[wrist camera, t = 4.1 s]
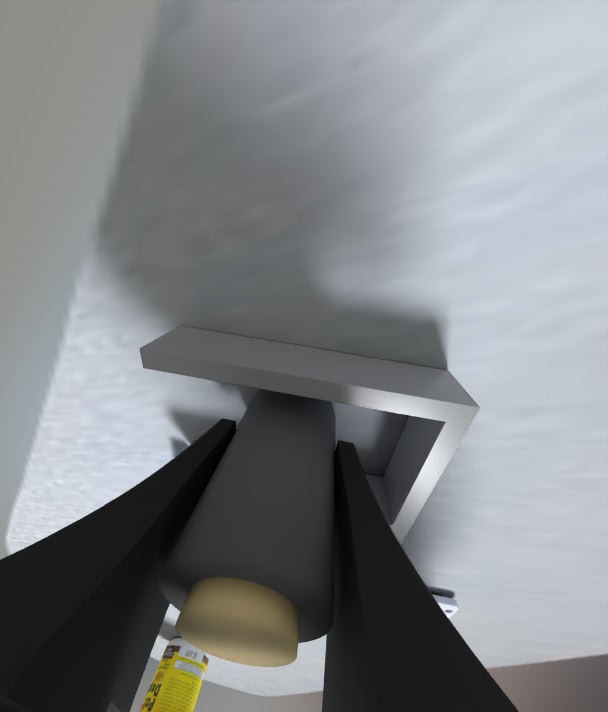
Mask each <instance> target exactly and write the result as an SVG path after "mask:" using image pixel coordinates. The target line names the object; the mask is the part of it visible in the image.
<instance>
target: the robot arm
mask: <svg viewBox="0 0 608 712" xmlns="http://www.w3.org/2000/svg"><path fill="white" fill-rule="evenodd" d="M235 432H236V421H232V420H226V419H221V420H220V421H219V422H217V423H216V424H215V425H214V426H213V427H212V428H210V429H209V430H208V431H207V432H206V433H205V434H204V435H202V436H201V437H200V438H199V439H198V440H196V441H195V442H194V443H193V444H192V445H190V446H189V447H188V448H187V449H185V450H184V451H183V452H182V453H180V454H179V455H178V456H177V457H175V458H174V459H173V460H171V461H170V462H169V463H167V464H166V465H165V466H163V467H162V468H160V469H159V470H158V471H156V472H155V473H154V474H152V475H151V476H149V477H148V478H146V479H145V480H144V481H142V482H141V483H139V484H138V485H136V486H135V487H133V488H131V489H130V490H128V491H127V492H125V493H124V494H122V495H120V496H119V497H117V498H116V499H114V500H112V501H111V502H109V503H107V504H106V505H104V506H102V507H101V508H99V509H97V510H96V511H94V512H92V513H90V514H89V515H87V516H85V517H83V518H82V519H80V520H78V521H76V522H74V523H72V524H70V525H68V526H67V527H65V528H63V529H61V530H59V531H57V532H55V533H53V534H52V535H50V536H48V537H46V538H44V539H42V540H40V541H38V542H36V543H34V544H32V545H30V546H28V547H26V548H24V549H22V550H20V551H18V552H16V553H14V554H11V555H9V556H7V557H5V558H3V559H1V560H0V712H130V709H131V706H132V703H133V700H134V698H135V695H136V692H137V689H138V687H139V684H140V681H141V678H142V675H143V673H144V670H145V667H146V665H147V662H148V659H149V656H150V654H151V651H152V648H153V646H154V643H155V641H156V638H157V635H158V633H159V630H160V627H161V625H162V622H163V620H164V617H165V614H166V612H167V609H168V607H169V604H170V602H169V601H168V600H167V599H166V598H165V596H164V595H163V593H162V591H161V589H160V586H159V576H160V574H161V572H162V570H163V568H164V566H165V564H166V563H167V561H168V559H169V557H170V555H171V553H172V551H173V549H174V547H175V545H176V544H177V542H178V540H179V538H180V536H181V534H182V532H183V530H184V528H185V526H186V525H187V523H188V521H189V519H190V517H191V515H192V513H193V511H194V509H195V507H196V506H197V504H198V502H199V500H200V498H201V496H202V494H203V492H204V490H205V488H206V487H207V485H208V483H209V481H210V479H211V477H212V475H213V473H214V471H215V470H216V468H217V466H218V464H219V462H220V460H221V458H222V456H223V454H224V452H225V451H226V449H227V447H228V445H229V443H230V441H231V439H232V437H233V435H234V433H235ZM458 608H459V607H458V604H457V601H456V600H454V599H451V598H447V597H442V596H438V595H433V594H431V592H430V591H429V589H428V588H427V586H426V585H425V583H424V582H423V580H422V579H421V577H420V576H419V574H418V573H417V571H416V570H415V568H414V566H413V565H412V563H411V561H410V560H409V558H408V557H407V555H406V553H405V552H404V550H403V548H402V547H401V545H400V543H399V541H398V540H397V538H396V536H395V534H394V533H393V531H392V529H391V527H390V525H389V524H388V522H387V520H386V518H385V516H384V514H383V512H382V510H381V508H380V506H379V504H378V502H377V500H376V498H375V496H374V493H373V491H372V489H371V487H370V485H369V482H368V480H367V478H366V475H365V473H364V471H363V468H362V466H361V463H360V460H359V458H358V455H357V452H356V449H355V446H354V444H353V443H349V442H344V441H338V443H337V447H336V451H335V548H334V624H333V627H332V628H331V630H330V631H329V632H328V633H327V639H326V657H325V673H324V689H323V704H322V712H518V710H517V709H516V707H515V706H514V705H513V704H512V702H511V701H510V700H509V699H508V697H507V696H506V695H505V693H504V692H503V691H502V689H501V688H500V687H499V686H498V684H497V683H496V682H495V680H494V679H493V678H492V677H491V676H490V674H489V673H488V672H487V670H486V669H485V667H484V666H483V665H482V663H481V662H480V661H479V660H478V658H477V657H476V656H475V654H474V653H473V652H472V650H471V649H470V648H469V646H468V645H467V644H466V642H465V641H464V639H463V638H462V637H461V635H460V634H459V632H458V631H457V630H456V628H455V627H454V626H453V624H452V623H451V621H450V620H449V618H450V617H451V616H452V615H453V614H454V613H455V612H456V611H457V610H458Z"/></svg>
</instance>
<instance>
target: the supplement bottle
mask: <svg viewBox="0 0 608 712" xmlns="http://www.w3.org/2000/svg"><path fill="white" fill-rule="evenodd" d="M208 660H209V654H208V653H206V652H204V651H202V650H200V649H198V648H196V647H194V646H192V645H191V644H189V643H188V642H186V641H185V640H184V639H183V638H175V639H172V640H171V641H170V642H169V643H168V645H167V647H166V649H165V652H164V654H163V656H162V659H161V661H160V664H159V666H158V668H157V671H156V673H155V675H154V678H153V680H152V683H151V685H150V687H149V690H148V692H147V695H146V697H145V699H144V702H143V704H142V707H141V709H140V711H139V712H193V709H194V706H195V703H196V700H197V697H198V693H199V690H200V687H201V683H202V680H203V677H204V674H205V670H206V667H207V664H208Z"/></svg>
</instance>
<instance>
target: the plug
mask: <svg viewBox="0 0 608 712" xmlns="http://www.w3.org/2000/svg"><path fill="white" fill-rule="evenodd" d="M334 548H335V413H334V410H333V407H332V405H331V403H330V402H329V401H326V400H321V399H315V398H309V397H304V396H298V395H293V394H287V393H281V392H276V391H270V390H265V389H261V390H259V391H258V392H257V393H256V395H255V396H254V397H253V399H252V401H251V403H250V405H249V407H248V409H247V411H246V413H245V414H244V416H243V418H242V420H241V422H240V424H239V426H238V428H237V430H236V432H235V433H234V435H233V437H232V439H231V441H230V443H229V445H228V447H227V449H226V451H225V452H224V454H223V456H222V458H221V460H220V462H219V464H218V466H217V468H216V470H215V471H214V473H213V475H212V477H211V479H210V481H209V483H208V485H207V487H206V488H205V490H204V492H203V494H202V496H201V498H200V500H199V502H198V504H197V506H196V507H195V509H194V511H193V513H192V515H191V517H190V519H189V521H188V523H187V525H186V526H185V528H184V530H183V532H182V534H181V536H180V538H179V540H178V542H177V544H176V545H175V547H174V549H173V551H172V553H171V555H170V557H169V559H168V561H167V563H166V564H165V566H164V568H163V570H162V572H161V574H160V576H159V586H160V589H161V591H162V593H163V595H164V596H165V598H166V599H167V600H168V601H169V602H170V603H171V604H172V605H173V606H174V607H175V608H177V609H178V610H179V611H181V612H180V615H179V617H178V619H177V622H176V625H175V627H176V631H177V632H178V634H179V635H180V636H181V637H182V638H183V639H184V640H185V641H186V642H188V643H189V644H191V645H192V646H194V647H196V648H198V649H200V650H202V651H204V652H206V653H208V654H211V655H213V656H216V657H219V658H222V659H225V660H228V661H232V662H236V663H240V664H245V665H251V666H260V667H277V666H284V665H287V664H290V663H292V662H293V661H294V660H295V659H296V657H297V648H298V643H302V642H308V641H312V640H315V639H318V638H320V637H322V636H324V635H326V634H327V633H328V632H329V631H330V630H331V628H332V627H333V624H334Z"/></svg>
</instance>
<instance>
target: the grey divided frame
mask: <svg viewBox="0 0 608 712" xmlns="http://www.w3.org/2000/svg"><path fill="white" fill-rule="evenodd" d="M140 353H141V358H142V363H143V368H147V369H152V370H158V371H164V372H169V373H175V374H180V375H186V376H192V377H197V378H203V379H208V380H214V381H220V382H225V383H231V384H237V385H242V386H248V387H253V388H259V389H265V390H270V391H276V392H281V393H287V394H293V395H298V396H304V397H309V398H315V399H321V400H326V401H332V402H337V403H343V404H349V405H354V406H360V407H365V408H371V409H377V410H382V411H388V412H393V413H399V414H405V415H409V417H408V419H407V422H406V424H405V426H404V429H403V431H402V434H401V436H400V438H399V441H398V443H397V446H396V448H395V450H394V453H393V455H392V458H391V460H390V462H389V465H388V467H387V470H386V472H385V474H384V477H378V476H373V475H368V474H365V475H366V478H367V480H368V482H369V485H370V487H371V489H372V491H373V493H374V496H375V498H376V500H377V502H378V504H379V506H380V508H381V510H382V512H383V514H384V516H385V518H386V520H387V522H388V524H389V525H390V527H391V529H392V531H393V533H394V534H395V536H396V538H397V540H398V541H399V543H400V545H401V544H402V542H403V540H404V538H405V537H406V535H407V533H408V531H409V530H410V528H411V526H412V525H413V523H414V521H415V519H416V518H417V516H418V514H419V512H420V511H421V509H422V507H423V506H424V504H425V502H426V500H427V499H428V497H429V495H430V493H431V492H432V490H433V488H434V487H435V485H436V483H437V481H438V480H439V478H440V476H441V474H442V473H443V471H444V469H445V468H446V466H447V464H448V462H449V461H450V459H451V457H452V455H453V454H454V452H455V450H456V449H457V447H458V445H459V443H460V442H461V440H462V438H463V436H464V435H465V433H466V431H467V430H468V428H469V426H470V424H471V423H472V421H473V419H474V417H475V416H476V414H477V412H478V411H479V409H480V407H479V406H478V405H477V403H476V402H475V401H474V400H473V399H472V398H471V396H470V395H469V394H468V393H467V392H466V391H465V389H464V388H463V387H462V386H461V385H460V384H459V382H458V381H457V380H456V379H455V378H454V376H453V375H452V374H451V373H450V372H449V371H448V370H442V369H436V368H430V367H424V366H418V365H412V364H406V363H400V362H395V361H389V360H383V359H377V358H371V357H365V356H359V355H353V354H347V353H341V352H335V351H329V350H323V349H317V348H311V347H305V346H299V345H293V344H287V343H281V342H275V341H269V340H263V339H257V338H251V337H245V336H239V335H233V334H227V333H221V332H215V331H209V330H203V329H197V328H191V327H185V326H179V327H177V328H175V329H174V330H172V331H170V332H168V333H166V334H165V335H163V336H161V337H159V338H157V339H156V340H154V341H152V342H150V343H148V344H147V345H145V346H143V347H141V348H140ZM194 442H195V441H193V442H192V443H191V445H192V444H193V443H194Z"/></svg>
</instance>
